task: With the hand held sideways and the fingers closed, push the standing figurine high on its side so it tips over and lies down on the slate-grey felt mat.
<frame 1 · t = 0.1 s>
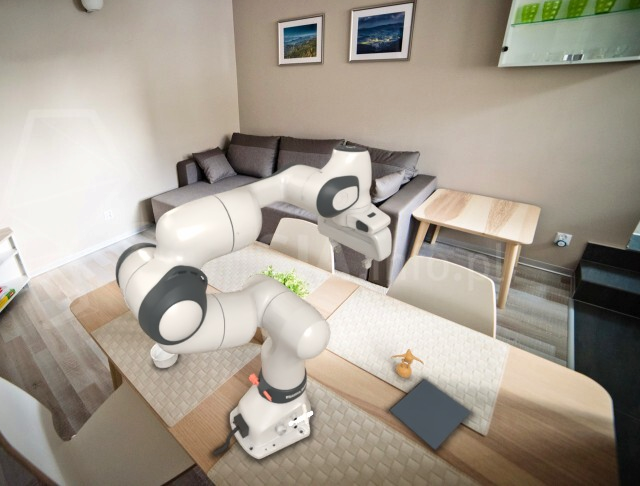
hand: (351, 259, 84), 39 cm above the table, tool pointing down, fingers open, 8 cm apart
ramekin: (166, 359, 109), on the table
felt mat: (429, 412, 86), on the table
figurine: (403, 378, 95), on the table
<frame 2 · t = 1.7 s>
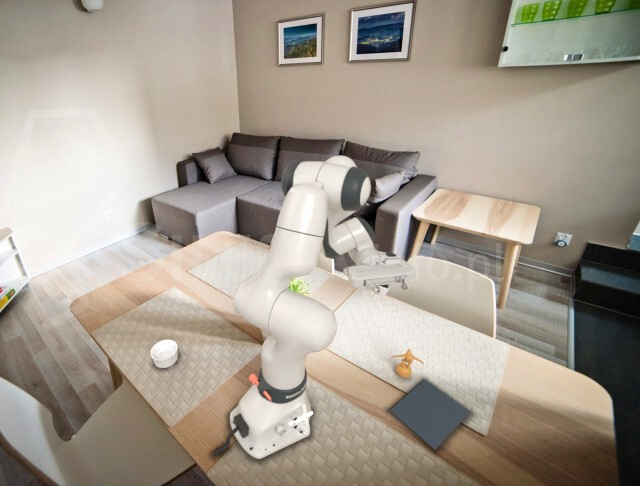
hand: (392, 290, 97), 23 cm above the table, tool horizontal, fingers open, 7 cm apart
nothing on the table moved.
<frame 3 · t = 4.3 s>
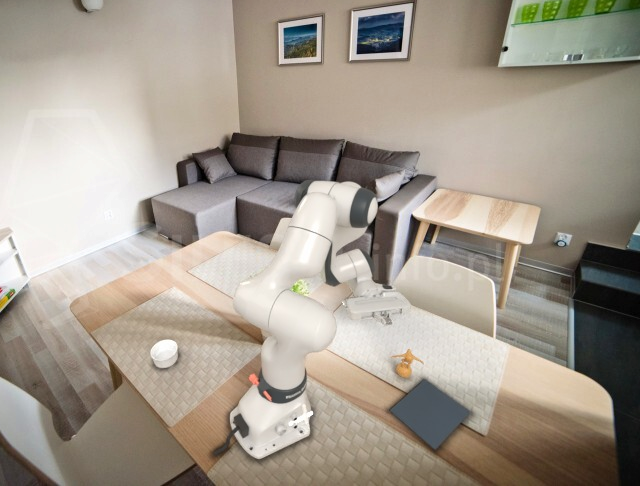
hand: (388, 323, 101), 10 cm above the table, tool horizontal, fingers closed
nothing on the table moved.
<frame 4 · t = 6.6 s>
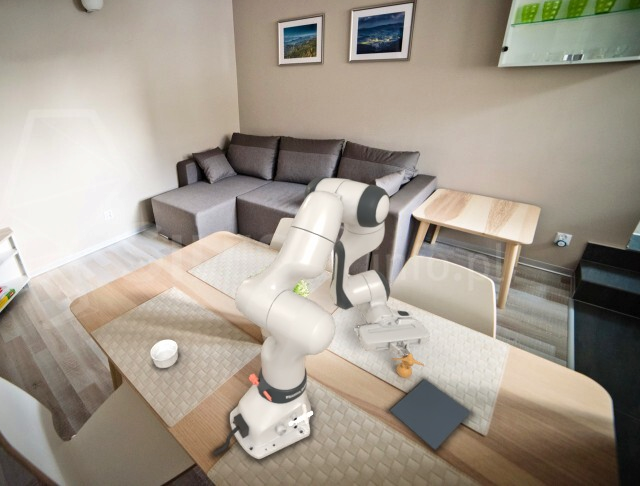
hand: (406, 356, 92), 8 cm above the table, tool horizontal, fingers closed
figurine: (403, 378, 95), on the table, touching gripper
everything else where it was.
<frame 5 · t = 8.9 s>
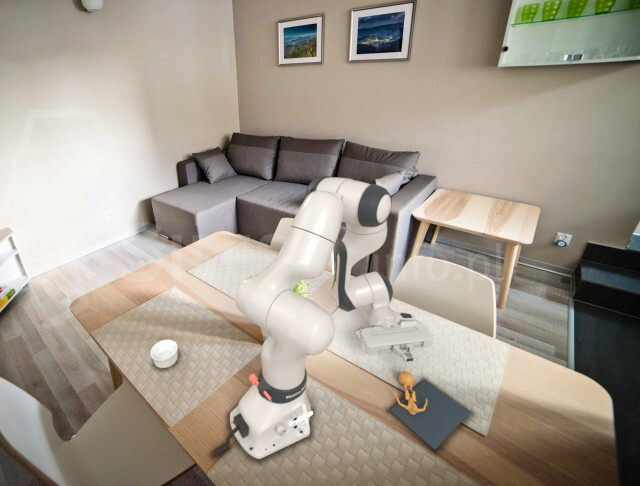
hand: (409, 359, 91), 9 cm above the table, tool horizontal, fingers closed
figurine: (403, 377, 95), point 1 cm above the table, touching felt mat
everything else where it was.
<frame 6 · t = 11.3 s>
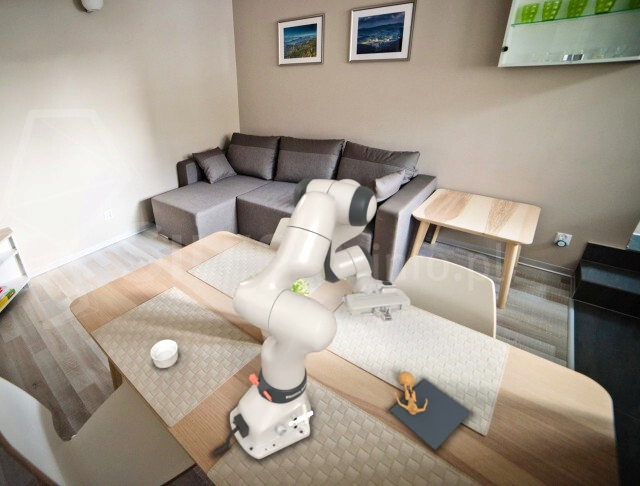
hand: (388, 319, 101), 12 cm above the table, tool horizontal, fingers closed
nothing on the table moved.
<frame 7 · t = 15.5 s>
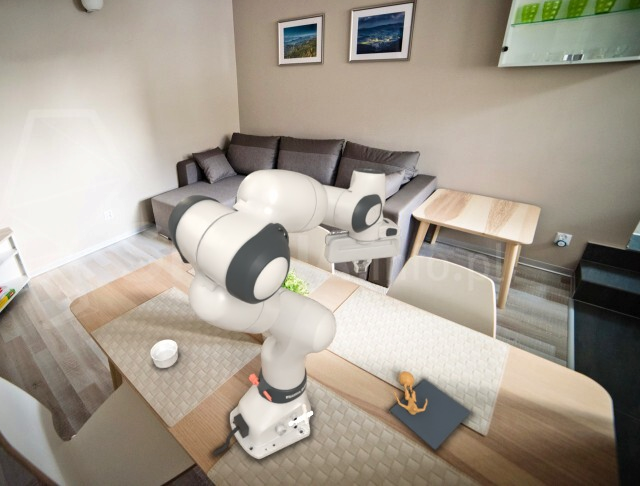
hand: (360, 271, 92), 31 cm above the table, tool pointing down, fingers closed
nothing on the table moved.
at the end: figurine tilted 75°; figurine inside the target area (5.5 cm from its centre), point 0.7 cm above the table; the gripper is holding nothing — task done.
